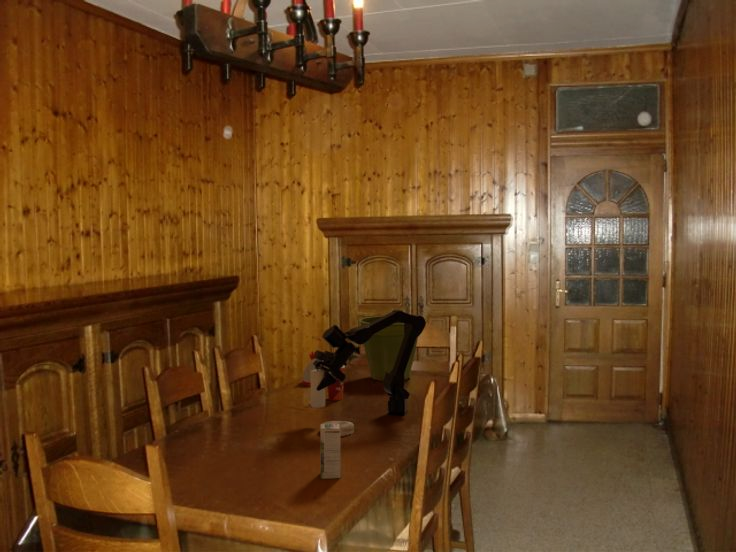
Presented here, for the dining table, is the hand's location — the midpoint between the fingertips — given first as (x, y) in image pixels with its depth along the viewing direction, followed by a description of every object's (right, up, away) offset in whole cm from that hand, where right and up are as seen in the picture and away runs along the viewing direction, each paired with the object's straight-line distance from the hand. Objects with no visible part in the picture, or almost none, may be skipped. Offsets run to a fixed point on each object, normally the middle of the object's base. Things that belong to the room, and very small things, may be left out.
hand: (314, 388), depth 249 cm
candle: (+1, -7, +1) cm, 7 cm away
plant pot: (+31, -9, +81) cm, 87 cm away
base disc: (+9, -14, -8) cm, 18 cm away
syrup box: (+9, -17, -52) cm, 56 cm away
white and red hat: (-4, -10, +73) cm, 74 cm away
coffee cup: (+6, -11, +41) cm, 43 cm away
